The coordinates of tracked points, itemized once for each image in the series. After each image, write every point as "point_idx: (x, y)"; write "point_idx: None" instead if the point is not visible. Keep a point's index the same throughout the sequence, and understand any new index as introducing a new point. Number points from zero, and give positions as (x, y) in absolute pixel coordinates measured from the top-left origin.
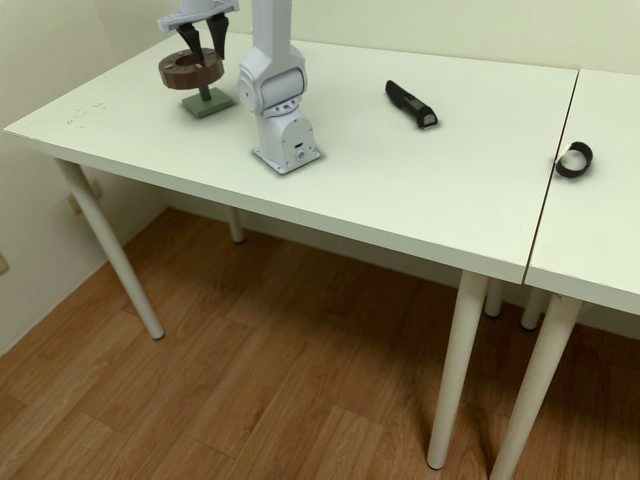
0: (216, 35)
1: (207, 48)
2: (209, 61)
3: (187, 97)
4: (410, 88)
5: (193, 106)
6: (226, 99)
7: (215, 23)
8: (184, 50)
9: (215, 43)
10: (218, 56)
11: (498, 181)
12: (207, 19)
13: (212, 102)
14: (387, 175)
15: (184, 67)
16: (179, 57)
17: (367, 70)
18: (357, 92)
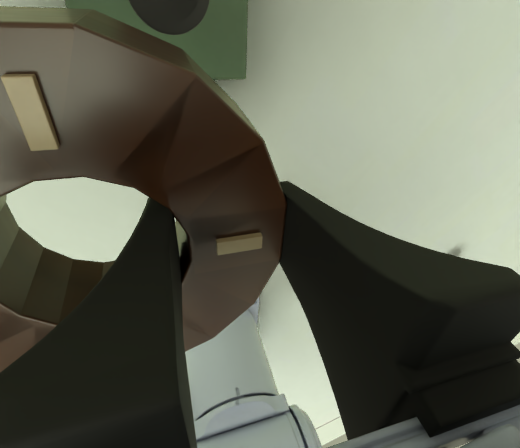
0: (323, 326)
1: (262, 167)
2: (188, 325)
3: None
4: (476, 257)
5: (81, 4)
6: (227, 64)
7: (359, 431)
8: (87, 52)
9: (304, 247)
10: (247, 299)
11: (336, 403)
12: (408, 345)
13: (172, 41)
14: (282, 384)
15: (39, 334)
16: (14, 185)
17: None
18: (439, 224)
